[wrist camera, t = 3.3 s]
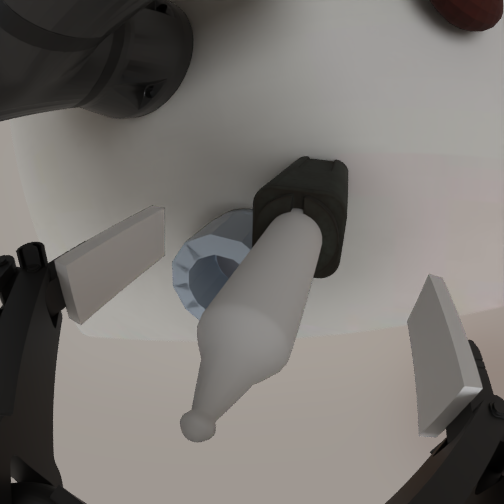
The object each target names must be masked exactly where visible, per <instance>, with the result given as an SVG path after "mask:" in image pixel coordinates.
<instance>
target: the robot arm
mask: <svg viewBox="0 0 504 504" xmlns="http://www.w3.org/2000/svg"><path fill="white" fill-rule="evenodd" d="M192 49H193V35H192V29H191V25H190V23H189V20H188V18H187V16H186V15H185V13H184V12H183V11H182V10H181V9H180V8H179V7H178V6H176V5H175V4H173V3H171V2H169V1H167V0H0V121H4V120H8V119H13V118H17V117H22V116H27V115H32V114H37V113H42V112H48V111H54V110H61V109H67V108H75V107H80V108H83V109H86V110H89V111H92V112H95V113H98V114H101V115H104V116H106V117H110V118H119V119H121V118H132V117H139V116H143V115H146V114H148V113H150V112H152V111H154V110H156V109H157V108H159V107H160V106H161V105H162V104H164V103H165V102H166V101H167V100H168V99H169V98H170V97H171V96H172V95H173V93H174V92H175V91H176V90H177V88H178V87H179V85H180V84H181V82H182V80H183V78H184V76H185V74H186V72H187V69H188V67H189V64H190V60H191V56H192ZM164 214H165V208H162V207H158V206H153V205H152V206H150V207H148V208H146V209H144V210H142V211H140V212H139V213H137V214H135V215H133V216H131V217H129V218H127V219H125V220H123V221H121V222H120V223H118V224H116V225H114V226H112V227H110V228H109V229H107V230H105V231H103V232H101V233H100V234H98V235H96V236H94V237H93V238H91V239H89V240H87V241H84V242H83V243H81V244H79V245H78V246H77V247H74V248H72V249H71V250H70V251H67V252H66V253H64V254H62V255H61V256H59V257H57V258H56V259H54V260H53V261H51V262H49V263H48V261H47V257H46V252H45V247H44V245H43V243H40V242H31V243H27V244H25V245H23V246H21V247H20V248H18V249H17V251H16V252H17V256H18V260H19V264H20V267H16V264H15V260H14V258H13V257H12V256H10V255H6V256H5V255H3V256H0V299H1V302H2V304H3V305H2V307H1V308H0V504H86V503H85V502H83V501H81V500H80V499H78V498H77V497H76V496H74V495H73V494H71V493H70V492H68V491H67V490H66V489H64V488H63V484H62V479H61V475H60V472H59V470H58V468H57V466H56V464H55V460H54V454H53V399H54V383H55V370H56V360H57V352H58V344H59V336H60V330H61V323H62V313H61V310H62V309H63V308H65V307H66V309H67V312H68V316H69V318H70V319H72V320H73V321H75V322H77V323H78V324H80V325H82V324H83V323H84V322H85V321H86V320H87V319H89V318H90V317H91V316H92V315H93V314H94V313H95V312H97V311H98V310H99V309H100V308H101V307H103V306H104V305H105V304H106V303H107V302H108V301H110V300H111V299H112V298H113V297H114V296H116V295H117V294H118V293H119V292H120V291H122V290H123V289H124V288H125V287H126V286H128V285H129V284H130V283H131V282H133V281H134V280H135V279H136V278H137V277H139V276H140V275H141V274H142V273H144V272H145V271H146V270H147V269H149V268H150V267H151V266H152V265H154V264H155V263H156V262H157V261H159V260H160V259H161V258H162V257H164V256H165V225H164ZM407 323H408V329H409V336H410V342H411V348H412V356H413V364H414V372H415V382H416V393H417V407H418V424H419V425H418V427H419V436H424V437H437V436H438V435H439V434H440V433H441V432H443V431H444V430H445V429H446V433H447V438H445V439H444V440H443V441H442V442H441V443H440V444H439V445H438V446H436V447H435V448H434V449H433V450H432V451H431V452H430V453H431V454H432V455H431V456H430V457H429V458H428V459H427V460H426V462H425V463H424V464H423V465H422V466H421V467H420V468H419V470H418V471H417V472H416V473H415V474H414V475H413V476H412V477H411V478H410V480H409V481H408V482H407V483H406V484H405V485H404V486H403V487H402V488H401V489H400V490H399V491H398V492H397V493H396V494H395V495H394V496H393V497H392V498H391V499H390V500H388V501H387V502H386V503H385V504H504V400H503V399H502V398H500V397H499V396H497V395H494V394H493V391H492V388H491V384H490V381H489V377H488V374H487V371H486V369H485V365H484V362H483V361H482V360H483V359H482V356H481V353H480V351H479V349H478V347H477V346H476V345H475V344H474V342H473V341H472V340H468V339H467V336H466V333H465V331H464V328H463V325H462V323H461V320H460V318H459V315H458V312H457V310H456V308H455V305H454V303H453V300H452V298H451V296H450V293H449V291H448V289H447V287H446V284H445V282H444V280H443V278H442V277H438V276H435V275H431V274H429V275H428V277H427V279H426V282H425V284H424V286H423V289H422V291H421V293H420V295H419V298H418V300H417V302H416V304H415V306H414V308H413V310H412V312H411V314H410V317H409V319H408V321H407ZM11 477H12V478H14V479H15V480H16V481H17V483H11Z"/></svg>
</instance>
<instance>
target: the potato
mask: <svg viewBox="0 0 504 504" xmlns="http://www.w3.org/2000/svg"><path fill="white" fill-rule="evenodd" d="M430 1H431V3H432V4H433V6H434V7H435V8H436V10H437V11H438V12H439V13H440V14H441V15H442V16H443V17H444V18H445V19H446V20H447V21H448V22H449V23H451V24H453V25H455V26H457V27H459V28H460V29H464V30H468V31H485V30H487V29H490V28H492V27H494V25H495V24H496V23H497V22H498V21H499V20H500V19H501V17H502V14H503V0H430Z"/></svg>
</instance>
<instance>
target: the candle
mask: <svg viewBox="0 0 504 504" xmlns="http://www.w3.org/2000/svg"><path fill="white" fill-rule="evenodd" d="M347 203H348V169H347V167H346V165H345V164H344V163H343V162H341V161H339V160H335V161H334V162H333V161H326V160H317V159H310V158H309V157H308V156H305V157H301V158H299V159H298V160H297V161H295V162H294V163H293V164H291V165H290V166H289V167H288V168H286V169H285V170H284V171H282V172H281V173H280V174H279V175H277V176H276V177H275V178H274V179H272V180H271V181H270V182H268V183H267V184H266V185H265V186H263V187H262V188H261V189H260V190H259V191H258V192H257V193H256V195H255V197H254V201H253V226H252V249H251V250H250V252H249V253H248V254H247V256H246V257H245V258H244V260H243V261H242V262H241V263H240V265H239V266H238V267H237V269H236V270H235V271H234V273H233V274H232V275H231V277H230V278H229V279H228V281H227V282H226V283H225V285H224V286H223V287H222V289H221V290H220V291H219V293H218V294H217V295H216V297H215V298H214V299H213V301H212V302H211V303H210V305H209V306H208V307H207V308H206V310H205V311H204V312H203V314H202V316H201V318H200V321H199V323H198V326H197V338H198V346H199V350H200V355H201V363H200V368H199V373H198V379H197V384H196V389H195V394H194V400H193V405H192V410H190V411H189V412H187V413H185V414H184V415H183V416H182V418H181V420H180V426H181V430H182V433H183V435H184V436H185V437H186V438H187V439H188V440H190V441H193V442H202V441H205V440H209V439H210V438H212V436H214V434H215V431H216V425H215V422H216V421H217V420H218V419H219V418H220V417H221V416H222V415H223V414H224V413H225V412H226V411H227V410H228V409H229V408H230V407H231V406H232V405H233V404H234V403H235V402H236V401H237V400H238V399H240V397H242V396H243V395H244V394H245V393H246V392H247V391H248V389H249V388H250V387H251V386H252V385H254V384H257V383H259V382H261V381H263V380H265V379H267V378H269V377H271V376H273V375H274V374H276V373H278V372H280V371H281V369H282V368H283V367H284V366H285V365H286V364H287V362H288V360H289V357H290V354H291V351H292V348H293V345H294V342H295V339H296V335H297V332H298V329H299V326H300V322H301V319H302V315H303V312H304V309H305V305H306V302H307V298H308V295H309V291H310V287H311V284H312V280H313V278H325V277H328V276H330V275H332V274H333V273H334V272H335V271H336V270H337V268H338V266H339V263H340V258H341V252H342V246H343V239H344V233H345V226H346V219H347Z"/></svg>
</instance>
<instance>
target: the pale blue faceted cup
mask: <svg viewBox="0 0 504 504" xmlns="http://www.w3.org/2000/svg"><path fill="white" fill-rule="evenodd" d="M252 226H253V210H251V209H237V210H233V211H230V212H227V213H225V214H223V215H222V216H220V217H219V218H216V219H214V220H213V221H211V222H210V223H209V224H207V225H206V226H205V227H204V228H202V229H201V230H200V231H199V232H197V233H196V234H195V235H194V236H192V237H191V238H190V239H189V240H187V241H186V242H185V243H184V245H183V246H182V248H181V249H180V251H179V252H178V254H177V255H176V257H175V258H174V260H173V261H172V270H173V287H174V289H175V290H176V292H177V294H178V296H179V298H180V300H181V302H182V303H183V305H184V307H185V309H186V310H188V311H189V312H190V313H191V314H192V315H194V316H195V317H196V318H197V319H198V320H200V318H201V316H202V314H203V312H204V311H205V310H206V308H207V307H208V306H209V305H210V303H211V302H212V301H213V299H214V298H215V297H216V295H217V294H218V293H219V291H220V290H221V289H222V287H223V286H224V285H225V283H226V282H227V281H228V279H229V278H230V277H231V275H232V274H233V273H234V271H235V270H236V269H237V267H238V266H239V265H240V263H241V262H242V261H243V260H244V258H245V257H246V256H247V254H248V253H249V252H250V250H251V249H252Z"/></svg>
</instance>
